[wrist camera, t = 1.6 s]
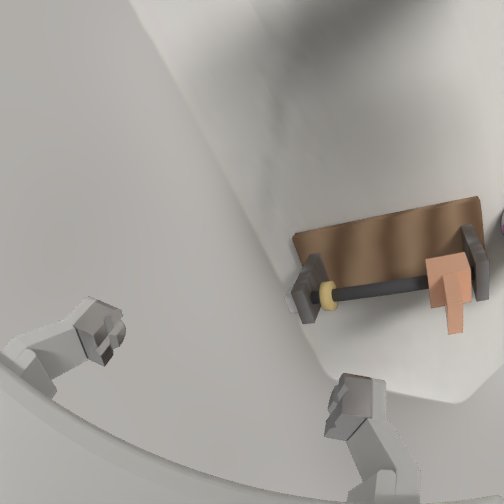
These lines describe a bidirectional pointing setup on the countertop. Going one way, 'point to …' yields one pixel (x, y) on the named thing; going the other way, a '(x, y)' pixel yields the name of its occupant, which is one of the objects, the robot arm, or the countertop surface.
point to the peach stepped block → (450, 287)
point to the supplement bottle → (502, 223)
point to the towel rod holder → (389, 249)
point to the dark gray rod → (361, 291)
